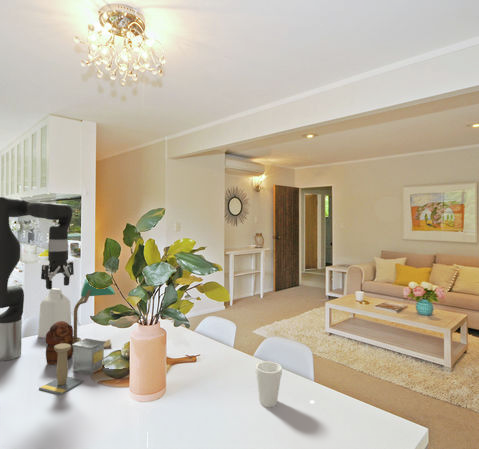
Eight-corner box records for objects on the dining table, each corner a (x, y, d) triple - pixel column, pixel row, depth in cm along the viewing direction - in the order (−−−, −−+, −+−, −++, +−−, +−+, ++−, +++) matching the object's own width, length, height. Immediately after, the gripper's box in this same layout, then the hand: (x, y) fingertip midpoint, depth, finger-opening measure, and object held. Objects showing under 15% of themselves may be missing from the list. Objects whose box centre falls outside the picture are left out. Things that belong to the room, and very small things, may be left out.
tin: (71, 371, 139) (72, 344, 139) (85, 363, 147) (86, 338, 147) (91, 375, 136) (91, 348, 136) (104, 367, 143) (105, 341, 143)
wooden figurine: (54, 366, 143) (55, 326, 143) (43, 364, 145) (44, 324, 145) (76, 356, 155) (76, 318, 154) (65, 354, 157) (66, 317, 156)
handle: (61, 388, 124) (62, 349, 124) (50, 384, 127) (51, 346, 126) (73, 383, 128) (73, 345, 128) (62, 379, 131) (62, 342, 131)
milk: (37, 336, 179) (38, 290, 179) (55, 330, 190) (55, 286, 190) (55, 339, 176) (55, 291, 175) (71, 332, 187) (72, 287, 186)
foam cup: (259, 411, 112) (260, 374, 112) (251, 397, 121) (252, 362, 121) (285, 407, 115) (285, 371, 115) (275, 394, 124) (276, 360, 124)
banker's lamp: (69, 345, 168) (70, 278, 168) (112, 339, 177) (113, 275, 177) (67, 356, 154) (68, 283, 154) (114, 350, 163) (115, 280, 162)
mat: (39, 389, 124) (39, 387, 124) (63, 376, 134) (63, 375, 134) (60, 395, 120) (60, 393, 120) (83, 381, 131) (84, 379, 131)
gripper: (65, 248, 148) (65, 283, 148) (36, 250, 134) (36, 289, 134) (78, 249, 145) (77, 285, 145) (50, 251, 132) (49, 291, 132)
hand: (57, 287), depth 140 cm, fingers open, 8 cm apart
